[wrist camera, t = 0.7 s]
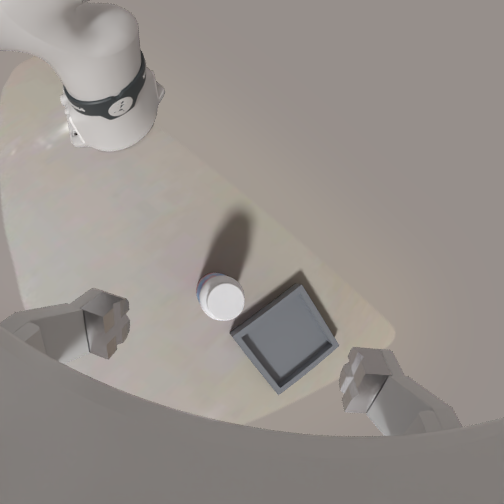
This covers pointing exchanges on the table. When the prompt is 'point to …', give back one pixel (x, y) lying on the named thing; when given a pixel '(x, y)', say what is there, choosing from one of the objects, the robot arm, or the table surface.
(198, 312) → the table surface
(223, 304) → the pill bottle
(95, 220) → the table surface
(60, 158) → the table surface
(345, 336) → the table surface
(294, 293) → the tray
